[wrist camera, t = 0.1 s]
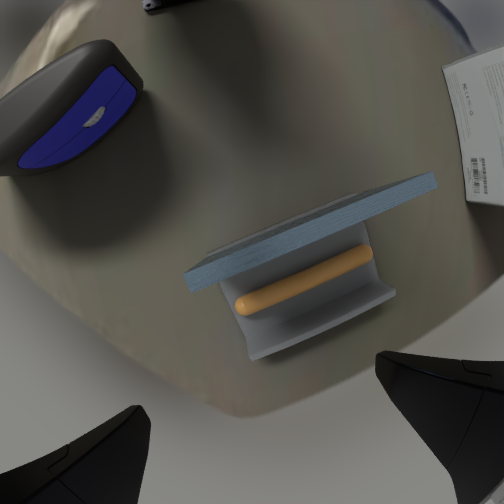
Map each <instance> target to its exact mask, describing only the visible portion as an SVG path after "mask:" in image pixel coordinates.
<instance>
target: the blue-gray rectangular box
mask: <svg viewBox="0 0 504 504" xmlns="http://www.w3.org/2000/svg"><path fill="white" fill-rule="evenodd" d="M437 187H438V184H437V181H436V178H435V176H434V173H433V171H430V172H427V173H424V174H420V175H417V176H414V177H410V178H407V179H404V180H401V181H397V182H394V183H391V184H388V185H384V186H381V187H378V188H375V189H371V190H368V191H365V192H363V193H360V194H358V195H355V196H353V197H350V198H348V199H345V200H343V201H340V202H338V203H335V204H333V205H331V206H328V207H326V208H323V209H321V210H318V211H316V212H313V213H311V214H308V215H306V216H304V217H301V218H299V219H296V220H294V221H291V222H289V223H287V224H284V225H282V226H279V227H277V228H274V229H272V230H270V231H267V232H265V233H262V234H260V235H258V236H255V237H253V238H250V239H248V240H246V241H243V242H241V243H239V244H236V245H234V246H231V247H229V248H227V249H224V250H222V251H220V252H217V253H215V254H212V255H210V256H208V257H206V258H205V259H203V260H202V261H201V262H199V263H198V264H196V265H195V266H194V267H192V268H191V269H189V270H188V271H187V272H185V273H184V274H183V276H184V279H185V281H186V283H187V285H188V288H189V290H190V292H191V293H193V292H195V291H197V290H200V289H202V288H205V287H207V286H210V285H212V284H215V283H217V282H219V281H222V280H224V279H227V278H229V277H231V276H234V275H236V274H239V273H241V272H243V271H246V270H248V269H251V268H253V267H255V266H258V265H260V264H263V263H265V262H267V261H270V260H272V259H275V258H277V257H279V256H282V255H284V254H286V253H289V252H291V251H293V250H296V249H298V248H300V247H303V246H305V245H308V244H310V243H312V242H315V241H317V240H319V239H322V238H324V237H326V236H328V235H331V234H333V233H335V232H338V231H340V230H342V229H345V228H347V227H349V226H352V225H354V224H356V223H358V222H361V221H363V220H365V219H368V218H370V217H372V216H374V215H377V214H379V213H381V212H384V211H386V210H388V209H390V208H393V207H395V206H397V205H399V204H402V203H404V202H406V201H408V200H411V199H413V198H415V197H417V196H420V195H422V194H424V193H426V192H428V191H431V190H433V189H435V188H437Z"/></svg>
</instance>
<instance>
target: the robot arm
mask: <svg viewBox="0 0 504 504" xmlns="http://www.w3.org/2000/svg"><path fill="white" fill-rule="evenodd" d="M188 1H192V0H143V8H144V10H145V11H152V10H155V9H159V8H163V7H166V6H170V5H174V4H179V3H183V2H188ZM148 6H150V7H148ZM375 372H376V376H377V378H378V379H379V381H380V382H381V384H382V386H383V388H384V389H385V391H386V393H387V394H388V396H389V397H390V399H391V401H392V402H393V403H394V405H395V406H396V407H397V408H398V410H399V411H401V413H402V414H403V416H404V417H405V418H406V419H407V421H408V422H409V423H410V424H411V426H412V427H413V428H414V429H415V431H416V432H417V433H418V434H419V436H420V437H421V438H422V439H423V441H424V442H425V443H426V444H427V446H428V447H429V448H430V449H431V451H432V452H433V453H434V455H435V456H436V457H437V458H438V460H439V461H440V462H441V463H442V465H443V466H444V467H445V468H446V469H447V471H448V472H449V474H450V476H451V478H452V481H453V484H454V488H455V493H456V497H457V502H458V504H484V503H486V502H487V501H488V500H489V499H492V500H493V502H494V503H495V504H504V361H472V360H461V361H460V360H457V359H447V358H438V357H430V356H421V355H414V354H407V353H400V352H393V351H382V352H380V353H377V355H376V362H375ZM150 430H151V422H150V419H149V417H148V415H147V414H146V412H145V410H144V409H143V407H142V406H141V405H132V406H130V407H128V408H127V409H125V410H124V411H122V412H121V413H119V414H117V415H116V416H114V417H112V418H111V419H109V420H108V421H106V422H105V423H103V424H101V425H99V426H98V427H96V428H95V429H93V430H91V431H89V432H88V433H86V434H84V435H83V436H81V437H79V438H77V439H76V440H74V441H72V442H70V444H66V445H65V446H63V447H61V448H59V449H57V450H55V451H53V452H51V453H50V454H47V455H45V456H43V457H41V458H39V459H36V460H34V461H32V462H29V463H27V464H24V465H22V466H20V467H17V468H15V469H12V470H10V471H7V472H4V473H2V474H0V504H137V503H138V498H139V493H140V488H141V484H142V479H143V474H144V470H145V465H146V460H147V456H148V449H149V440H150Z"/></svg>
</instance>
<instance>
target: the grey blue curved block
mask: <svg viewBox="0 0 504 504" xmlns="http://www.w3.org/2000/svg"><path fill="white" fill-rule="evenodd" d="M142 89H143V80H142V79H141V77H140V76H139V75H138V73H137V72H136V71H135V70H134V68H133V67H132V66H131V64H130V63H129V62H128V61H127V59H126V58H125V57H124V56H123V54H122V53H121V52H120V51H119V49H118V48H117V47H116V46H115V44H114V43H113V42H111V41H109V40H105V39H103V40H95V41H91V42H87V43H85V44H82V45H80V46H78V47H77V48H75V49H73V50H71V51H69V52H68V53H66V54H64V55H62V56H61V57H59V58H57V59H56V60H54V61H53V62H51V63H49V64H48V65H46V66H45V67H43V68H42V69H40V70H39V71H37V72H36V73H34V74H33V75H32V76H30V77H29V78H27V79H26V80H25V81H23V82H22V83H20V84H19V85H18V86H16V87H15V88H14V89H13V90H11V91H10V92H9V93H8V94H6V95H5V96H4V97H3V98H1V99H0V176H27V175H35V174H40V173H43V172H47V171H50V170H52V169H55V168H57V167H59V166H62V165H64V164H66V163H68V162H69V161H71V160H73V159H75V158H76V157H78V156H80V155H81V154H83V153H84V152H86V151H87V150H88V149H90V148H91V147H92V146H94V145H95V144H96V143H98V142H99V141H100V140H101V139H102V138H104V137H105V136H106V135H107V134H108V133H109V132H110V131H111V130H112V129H113V128H114V127H116V126H117V125H118V123H119V122H120V121H121V120H122V119H123V118H124V117H125V116H126V115H127V114H128V112H129V111H130V110H131V109H132V107H133V106H134V105H135V103H136V102H137V100H138V98H139V97H140V94H141V92H142Z"/></svg>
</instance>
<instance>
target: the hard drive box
mask: <svg viewBox="0 0 504 504" xmlns="http://www.w3.org/2000/svg"><path fill="white" fill-rule="evenodd" d="M442 70H443V73H444V76H445V79H446V83H447V86H448V91H449V95H450V99H451V104H452V106H453V110H454V115H455V119H456V124H457V129H458V135H459V140H460V147H461V154H462V164H463V173H464V178H465V189H466V200H467V201H469V203H479V204H486V205H493V206H500V207H504V43H502V44H500V45H497V46H494V47H491V48H488V49H485V50H483V51H480V52H478V53H475V54H473V55H470V56H468V57H465V58H463V59H460V60H458V61H455V62H453V63H451V64H448V65H446V66H443V67H442Z"/></svg>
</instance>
